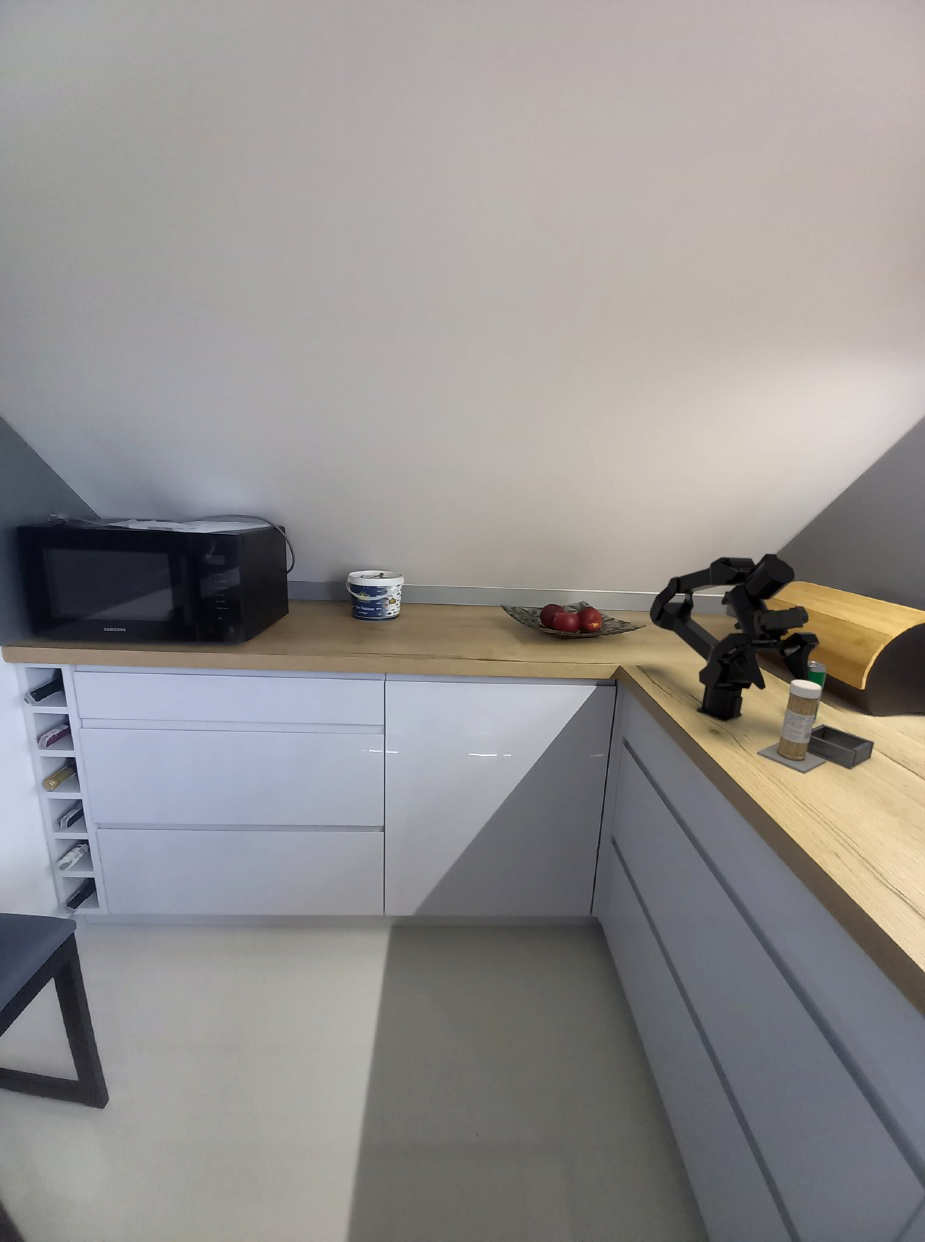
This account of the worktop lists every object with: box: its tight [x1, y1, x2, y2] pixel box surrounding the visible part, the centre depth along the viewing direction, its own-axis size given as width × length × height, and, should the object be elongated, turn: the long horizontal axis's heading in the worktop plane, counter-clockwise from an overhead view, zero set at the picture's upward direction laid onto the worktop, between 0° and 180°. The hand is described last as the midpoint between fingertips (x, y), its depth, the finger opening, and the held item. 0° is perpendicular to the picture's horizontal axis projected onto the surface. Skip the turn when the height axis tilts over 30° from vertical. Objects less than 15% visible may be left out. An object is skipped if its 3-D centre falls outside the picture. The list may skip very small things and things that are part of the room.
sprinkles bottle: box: [777, 679, 822, 760], centre depth 98 cm, size 5×5×13 cm
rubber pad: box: [756, 742, 827, 774], centre depth 100 cm, size 8×8×1 cm
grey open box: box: [806, 723, 875, 770], centre depth 102 cm, size 9×9×3 cm
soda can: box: [794, 660, 827, 722], centre depth 116 cm, size 5×5×12 cm
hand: (784, 688), depth 101 cm, fingers open, 9 cm apart
